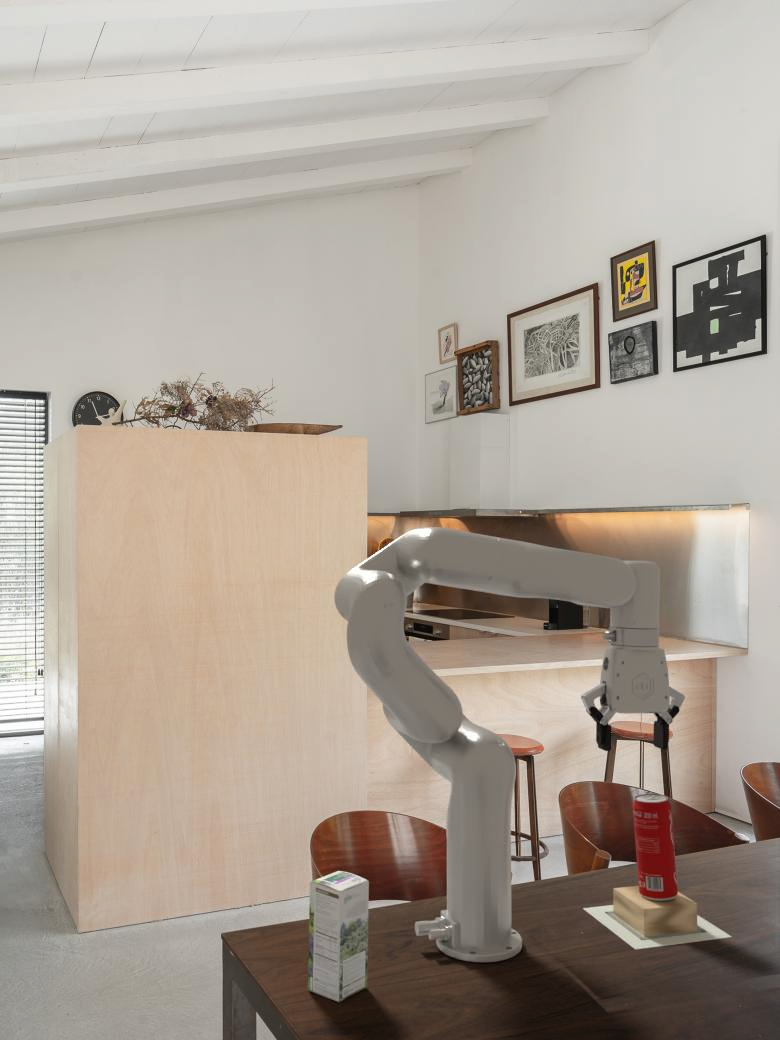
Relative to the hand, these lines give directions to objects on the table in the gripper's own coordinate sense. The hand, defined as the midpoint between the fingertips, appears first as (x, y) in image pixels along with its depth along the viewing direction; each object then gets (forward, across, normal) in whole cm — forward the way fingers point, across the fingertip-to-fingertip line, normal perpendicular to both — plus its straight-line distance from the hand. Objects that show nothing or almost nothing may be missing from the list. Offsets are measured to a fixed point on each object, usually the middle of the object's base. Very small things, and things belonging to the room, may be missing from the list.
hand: (632, 748), depth 146 cm
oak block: (+26, +3, -2) cm, 26 cm away
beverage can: (+22, +3, -2) cm, 22 cm away
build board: (+27, +3, -2) cm, 27 cm away
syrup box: (+29, -48, -10) cm, 57 cm away
